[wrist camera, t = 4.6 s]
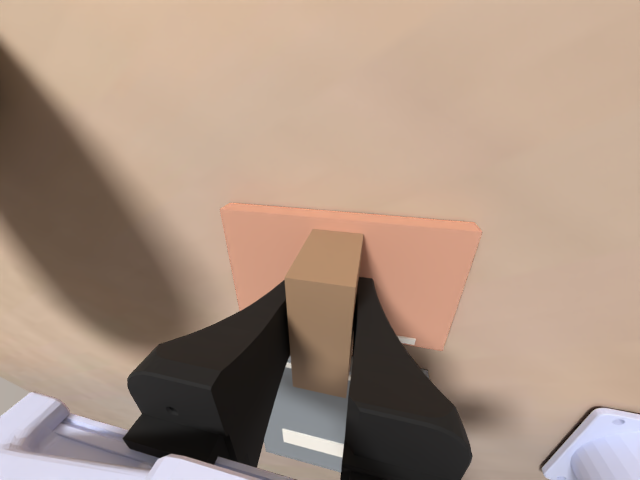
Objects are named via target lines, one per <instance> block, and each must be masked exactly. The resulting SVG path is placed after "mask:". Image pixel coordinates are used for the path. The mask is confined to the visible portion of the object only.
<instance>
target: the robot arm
mask: <svg viewBox="0 0 640 480" xmlns="http://www.w3.org/2000/svg"><path fill="white" fill-rule="evenodd" d="M289 357H290V343H289V330H288V317H287V304H286V292H285V280H283V281H282V282H281V283H280V284H278V285H277V286H276V287H275V288H273V289H272V290H271V291H270V292H268V293H267V294H265V295H264V296H263V297H261V298H260V299H259V300H257V301H256V302H254V303H253V304H251V305H249V306H248V307H246V308H244V309H243V310H241V311H239V312H238V313H236V314H234V315H232V316H230V317H228V318H226V319H224V320H222V321H220V322H218V323H216V324H213V325H211V326H209V327H206V328H204V329H202V330H199V331H197V332H194V333H191V334H189V335H186V336H183V337H180V338H177V339H174V340H171V341H168V342H165V343H161V344H159V345H158V346H157V347H156V348H155V349H154V350H153V351H152V352H151V353H150V354H149V355H148V356H147V357H146V358H145V359H144V360H143V361H142V362H141V364H140V365H139V366H138V367H137V368H136V369H135V370H134V371H133V372H132V373H131V374H130V375H129V377H128V379H127V381H128V389H129V392H130V394H131V395H132V397H133V399H134V401H135V402H136V404H137V406H138V407H139V409H140V411H141V413H142V415H141V416H140V417H139V418H138V420H137V421H136V422H135V423H134V425H133V426H132V427H131V428H130V430H127V429H123V428H120V427H116V426H113V425H110V424H106V423H103V422H99V421H96V420H93V419H89V418H86V417H83V416H79V415H76V414H72V413H70V410H69V408H68V407H67V406H66V405H65V404H64V403H63V402H62V401H61V400H59V399H57V398H55V397H51V396H48V395H44V394H41V393H37V392H30V393H29V394H28V395H26V396H25V397H24V398H23V399H21V400H20V401H19V402H18V403H16V404H15V405H14V406H13V407H11V408H10V409H9V410H8V411H6V412H5V413H4V414H3V415H1V416H0V480H296V479H293V478H289V477H286V476H283V475H279V474H276V473H273V472H269V471H266V470H262V469H259V468H257V465H258V461H259V457H260V453H261V449H262V445H263V442H264V438H265V434H266V431H267V427H268V423H269V420H270V416H271V413H272V409H273V406H274V402H275V399H276V396H277V392H278V389H279V386H280V383H281V379H282V376H283V373H284V370H285V367H286V364H287V362H288V359H289ZM471 459H472V453H471V447H470V444H469V440H468V437H467V434H466V432H465V429H464V426H463V424H462V421H461V419H460V416H459V414H458V412H457V410H456V407H455V406H454V405H453V404H452V403H451V402H450V401H449V400H448V399H447V398H446V397H445V396H444V395H443V394H442V393H441V392H440V391H439V390H438V389H437V388H436V387H435V385H434V384H433V383H432V382H431V381H430V380H429V379H428V377H427V376H426V375H425V374H424V373H423V372H422V370H421V369H420V368H419V366H418V365H417V364H416V363H415V361H414V360H413V359H412V357H411V356H410V355H409V353H408V352H407V351H406V349H405V348H404V346H403V345H402V343H401V342H400V340H399V338H398V337H397V335H396V334H395V332H394V330H393V328H392V327H391V325H390V323H389V321H388V319H387V317H386V315H385V313H384V311H383V308H382V306H381V304H380V301H379V299H378V296H377V293H376V289H375V285H374V280H373V279H372V278H365V277H359V280H358V287H357V297H356V309H355V320H354V331H353V364H352V372H351V380H350V387H349V395H348V405H347V417H346V428H345V440H344V448H343V457H342V466H341V480H461V478H462V477H463V475H464V473H465V472H466V470H467V468H468V467H469V465H470V463H471ZM542 472H543V474H544V476H545V477H546V478H548V479H551V480H640V414H635V413H630V412H625V411H620V410H614V409H609V408H597V409H594V410H593V411H592V412H591V413H590V414H589V416H588V417H587V418H586V419H585V420H584V421H583V422H582V423H581V425H580V426H579V427H578V428H577V429H576V430H575V431H574V432H573V433H572V435H571V436H570V437H569V438H568V439H567V440H566V441H565V442H564V444H563V445H562V446H561V447H560V448H559V449H558V450H557V451H556V453H555V454H554V455H553V456H552V457H551V458H550V459H549V460H548V462H547V463H546V464H545V465H544V466H543V467H542Z"/></svg>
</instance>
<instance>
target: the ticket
mask: <svg viewBox="0 0 640 480" xmlns="http://www.w3.org/2000/svg"><path fill="white" fill-rule="evenodd" d="M352 364H353V356H351V363H350V371H349V379H348V387H347V395H346V398H342V397H337V396H333V395H328V394H324V393H319V392H315V391H310V390H306V389H301V388H297V387H293V382H292V369H291V356H290V357H289V359H288V362H287V364H286V367H285V370H284V373H283V376H282V379H281V383H280V386H279V389H278V392H277V396H276V399H275V402H274V406H273V409H272V413H271V416H270V420H269V423H268V427H267V431H266V434H265V438H264V443H265V448H266V452H270V453H273V454H277V455H280V456H284V457H288V458H291V459H295V460H298V461H302V462H305V463H309V464H313V465H316V466H320V467H323V468H327V469H330V470H334V471H338V472H341V466H342V457H343V448H344V440H345V428H346V417H347V405H348V395H349V387H350V380H351V372H352ZM421 370H422V372H423V373H424V374H425V375H426V376H427V377H428V379H429V376H428V370H423V369H421Z"/></svg>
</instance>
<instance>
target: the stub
mask: <svg viewBox="0 0 640 480" xmlns="http://www.w3.org/2000/svg"><path fill="white" fill-rule="evenodd" d="M220 212H221V217H222V223H223V228H224V233H225V238H226V243H227V248H228V254H229V259H230V264H231V269H232V274H233V279H234V285H235V290H236V295H237V300H238V305H239V310H240V311H241V310H243V309H244V308H246V307H248V306H249V305H251V304H253V303H254V302H256V301H257V300H259V299H260V298H261V297H263V296H264V295H265V294H267V293H268V292H270V291H271V290H272V289H273V288H275V287H276V286H277V285H278V284H280V283H281V282H282V281H283V280H285V292H286V304H287V317H288V330H289V343H290V356H291V369H292V382H293V387H297V388H301V389H306V390H310V391H315V392H319V393H324V394H328V395H333V396H337V397H342V398H346V395H347V387H348V379H349V371H350V363H351V355H352V347H353V331H354V320H355V309H356V297H357V287H358V280H359V277H365V278H372V279H373V280H374V285H375V289H376V293H377V296H378V299H379V301H380V304H381V306H382V308H383V311H384V313H385V315H386V317H387V319H388V321H389V323H390V325H391V327H392V328H393V330H394V332H395V334H396V335H397V337H398V338H399V340H400V342H401V343H402V344H404V345H410V346H416V347H422V348H427V349H433V350H439V351H443V348H444V345H445V342H446V339H447V336H448V333H449V330H450V327H451V324H452V321H453V318H454V315H455V312H456V309H457V306H458V303H459V300H460V297H461V294H462V291H463V288H464V286H465V283H466V280H467V277H468V274H469V271H470V268H471V265H472V262H473V259H474V256H475V253H476V250H477V247H478V244H479V241H480V238H481V235H482V231H481V230H480V228H479V227H478V226H477V225H476V223H475V222H462V221H450V220H438V219H425V218H413V217H400V216H388V215H376V214H363V213H351V212H339V211H326V210H314V209H302V208H289V207H277V206H265V205H252V204H240V203H229V204H227V205H226V206H224V207H223V208H221V209H220Z"/></svg>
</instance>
